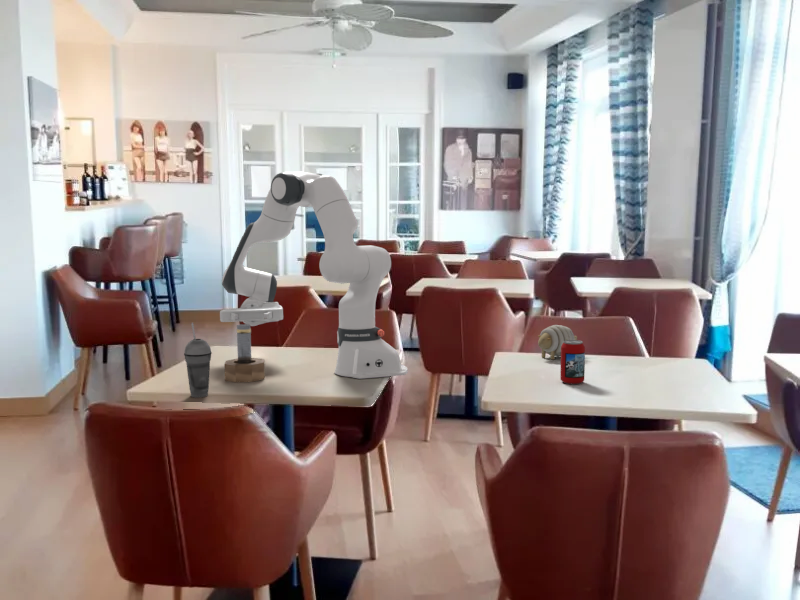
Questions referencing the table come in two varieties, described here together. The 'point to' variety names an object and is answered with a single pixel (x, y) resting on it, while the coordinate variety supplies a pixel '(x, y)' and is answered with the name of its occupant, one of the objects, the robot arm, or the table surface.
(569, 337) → the toy sheep
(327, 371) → the table surface
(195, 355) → the beverage cup
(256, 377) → the wooden octagonal ring
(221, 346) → the table surface
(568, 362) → the beverage can
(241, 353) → the gold-banded metal cylinder
